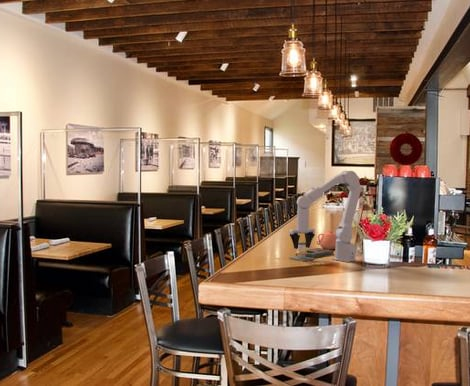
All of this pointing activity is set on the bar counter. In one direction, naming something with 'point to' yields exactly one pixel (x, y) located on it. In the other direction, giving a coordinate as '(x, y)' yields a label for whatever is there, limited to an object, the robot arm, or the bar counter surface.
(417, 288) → the bar counter surface
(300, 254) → the plug
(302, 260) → the mat
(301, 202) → the robot arm
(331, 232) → the sugar bowl
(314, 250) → the grey lever panel
